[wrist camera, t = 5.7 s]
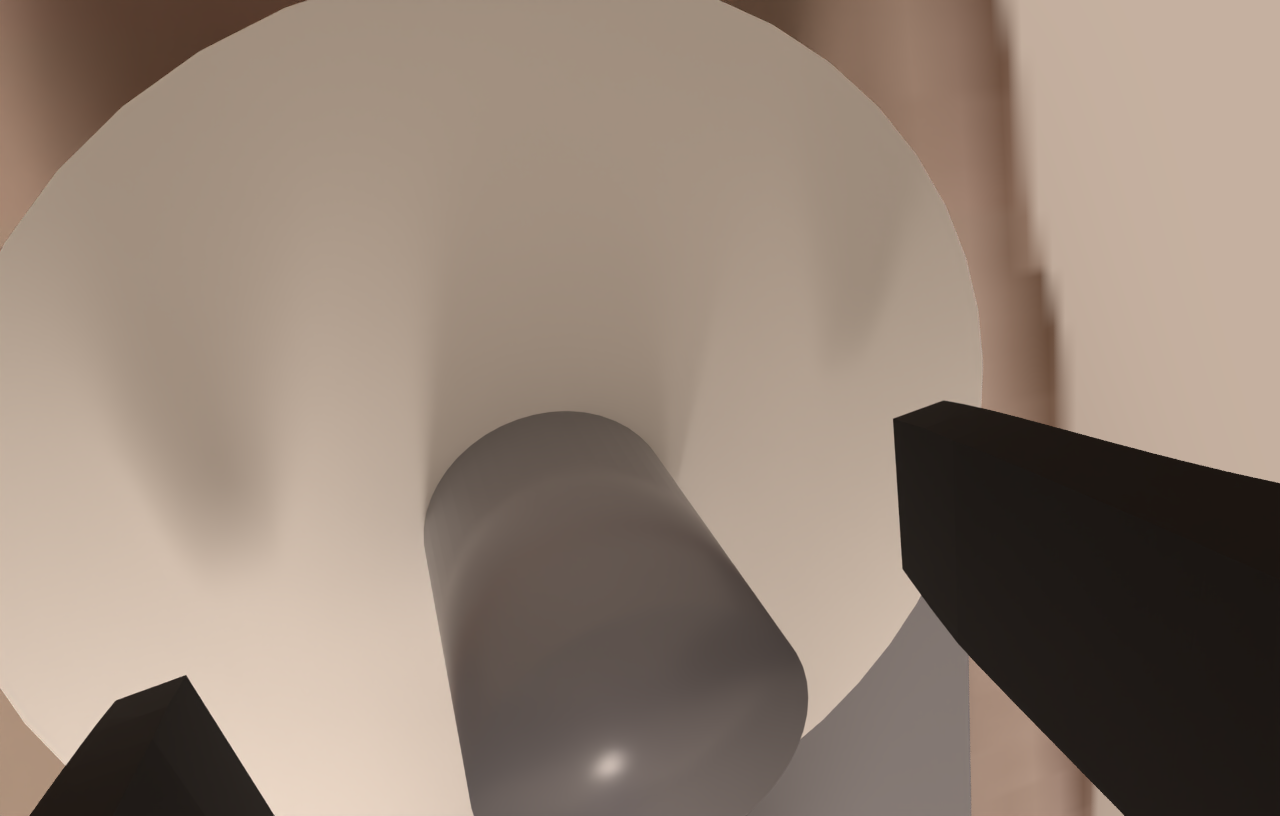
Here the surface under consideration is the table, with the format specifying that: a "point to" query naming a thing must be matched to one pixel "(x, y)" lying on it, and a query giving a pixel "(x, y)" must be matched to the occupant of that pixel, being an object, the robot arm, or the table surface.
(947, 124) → the table surface
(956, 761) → the mat
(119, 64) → the table surface
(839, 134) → the lid
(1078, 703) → the robot arm
